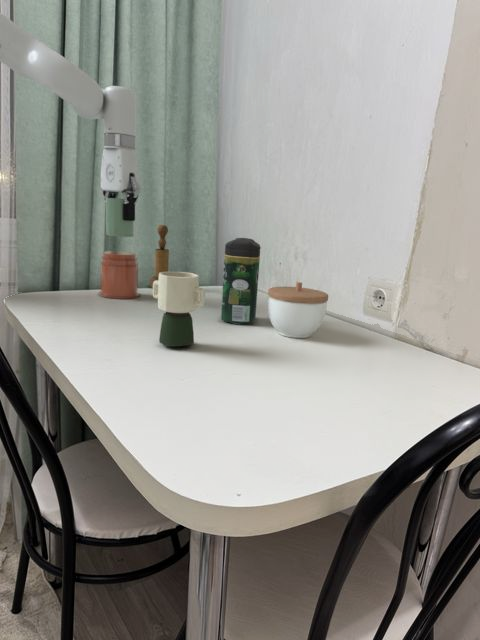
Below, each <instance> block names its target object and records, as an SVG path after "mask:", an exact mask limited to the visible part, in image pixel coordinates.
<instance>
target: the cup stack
mask: <svg viewBox="0 0 480 640" xmlns="http://www.w3.org/2000/svg"><path fill="white" fill-rule="evenodd" d="M138 277H139V263H138V257H137V256H136V253H134V252H130V251H123V250H121V251H120V250H119V251H118V250H108V251H107V250H106V251H103V252H102V256H101V262H100V292H99V296H101V297H102V298H106V299H115V300H131V299H136V298H138V297H139V292H138V287H139V286H138V281H139V280H138V279H139V278H138Z"/></svg>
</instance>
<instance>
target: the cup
mask: <svg viewBox="0 0 480 640" xmlns="http://www.w3.org/2000/svg"><path fill="white" fill-rule="evenodd" d="M123 204H125V202H124V199H123V198H118V197H117V198H106V202H105V235H106V236H111V237H119V238H133V237H135V221H124V220H123Z"/></svg>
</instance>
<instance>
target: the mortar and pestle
mask: <svg viewBox="0 0 480 640" xmlns="http://www.w3.org/2000/svg"><path fill="white" fill-rule="evenodd" d="M156 231H157V234H158V237H159V240H158V241H157V242H158V248H155V249H154V276H152V277H151V278H150V279H149V287H150V288H151V289H153V282H154V281H156V280H157V281H158V280H159V273H161V272H169V260H170V259H169V258H170V257H169V256H170V255H169V254H170V249H168V248H166V244H167V240H166V236H167V234H168V232H169V228H168V226H167V225H166V224H159V225H158V226H157V230H156Z"/></svg>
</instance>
